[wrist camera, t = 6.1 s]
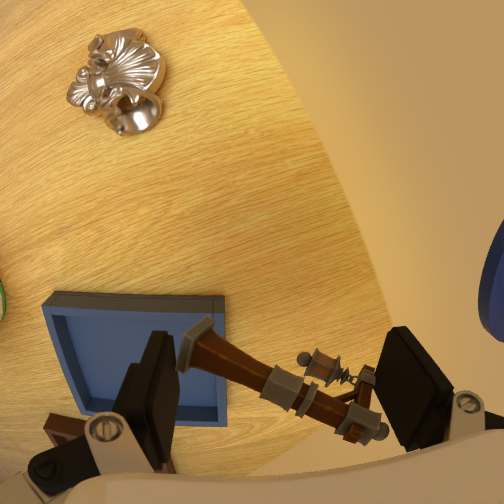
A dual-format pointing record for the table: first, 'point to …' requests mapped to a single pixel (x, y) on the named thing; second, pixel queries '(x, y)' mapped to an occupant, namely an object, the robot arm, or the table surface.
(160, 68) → the ornament
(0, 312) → the cup
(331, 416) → the wooden post with brackets
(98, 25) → the table surface
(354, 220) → the table surface
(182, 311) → the blue tray
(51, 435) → the walnut tray
